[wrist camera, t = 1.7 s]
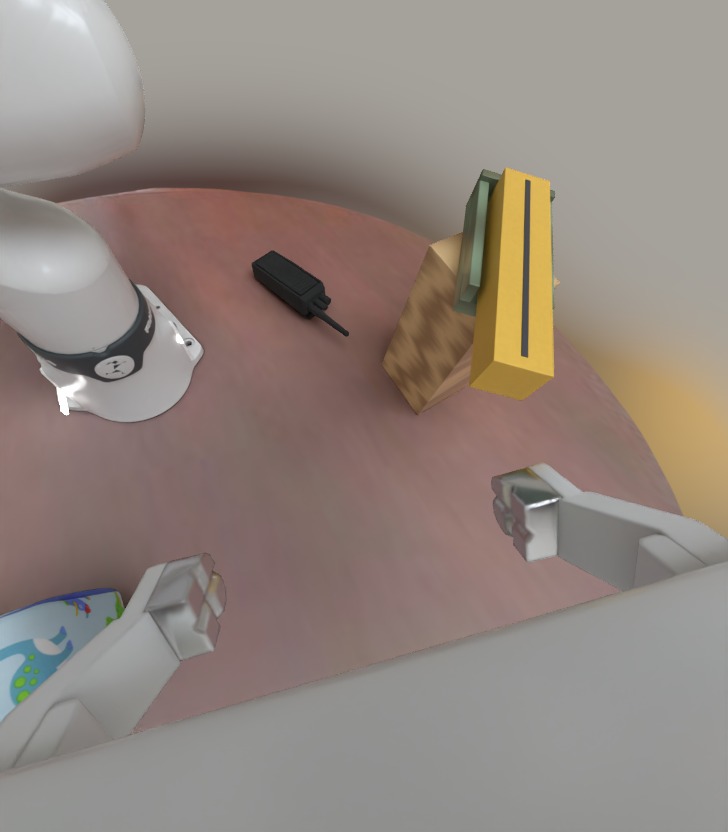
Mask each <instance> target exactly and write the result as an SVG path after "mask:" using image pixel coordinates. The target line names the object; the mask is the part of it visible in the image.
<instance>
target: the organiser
mask: <svg viewBox="0 0 728 832" xmlns="http://www.w3.org/2000/svg"><path fill="white" fill-rule="evenodd" d="M500 177H501V174H498V173H495V172H491V171H488V170H485V169H483V170H482V172H481V175H480V177H479V179H478V181H477V183H476V185H475V188H474V190H473V192H472V194H471V196H470V199H469V201H468V203H467V205H466V212H465V220H464V228H463V232H462V233H459V234H457V235H454V236H452V237H449V238H447V239H444V240H441V241H439V242H436V243H434V244H431V245H430V246H429V248H428V251H427V253H426V256H425V258H424V260H423V263H422V265H421V268H420V270H419V273H418V275H417V278H416V280H415V283H414V285H413V288H412V290H411V293H410V295H409V298H408V300H407V303H406V305H405V308H404V310H403V313H402V315H401V318H400V320H399V323H398V325H397V328H396V330H395V333H394V335H393V338H392V340H391V343H390V345H389V348H388V350H387V353H386V355H385V358H384V360H383V363H382V366H383V367H384V369H385V370H386V372H387V373H388V374H389V376H390V377H391V379H392V380H393V381H394V383H395V384H396V385H397V387H398V388H399V390H400V391H401V392H402V394H403V395H404V397H405V398H406V399H407V401H408V402H409V404H410V405H411V406H412V408H413V409H414V410H415V412H416V413H417V415H419V414H420V413H422V412H424V411H425V410H427V409H429V408H431V407H432V406H434V405H436V404H437V403H439V402H441V401H442V400H444V399H446V398H448V397H449V396H451V395H453V394H454V393H456V392H458V391H460V390H461V389H463V388H465V387H466V386H467V385H468V384H469V382H470V372H471V361H472V350H473V340H474V329H475V318H476V307H477V296H478V289H479V288H480V280H481V269H482V258H483V247H484V235H485V224H486V213H487V203H488V201H489V199H490V197H491V195H492V193H493V191H494V189H495V187H496V185H497V183H498V181H499V179H500ZM554 198H555V191H553V190H550V214H551V261H552V308H553V309H554V290H555V288H556V287H557V286H558V285H559V284H560V282H559V281H558V280H557V279H556V278H555V277H554V274H553V234H552V233H553V231H552V201H553V199H554Z"/></svg>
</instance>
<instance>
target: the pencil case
mask: <svg viewBox="0 0 728 832" xmlns="http://www.w3.org/2000/svg"><path fill="white" fill-rule="evenodd" d="M552 310H553V308H552V261H551V214H550V181H547V180H544V179H541V178H538V177H535V176H531V175H528V174H525V173H522V172H518V171H515V170H512V169H509V168H505V170H504V171H503V173H502V175H501V177H500V179H499V181H498V183H497V185H496V187H495V189H494V191H493V193H492V195H491V197H490V199H489V201H488V203H487V213H486V224H485V235H484V247H483V258H482V269H481V280H480V288H479V289H478V296H477V307H476V318H475V329H474V340H473V350H472V361H471V372H470V383H469V387H472V388H476V389H480V390H484V391H487V392H491V393H495V394H499V395H502V396H506V397H510V398H514V399H517V400H521V401H522V400H524V399H525V398H526V397H528V396H529V395H530V394H532V393H533V392H534V391H536V390H537V389H538V388H540V387H541V386H542V385H544V384H545V383H546V382H548V381H549V380H550V379H552V378H553V377H554V355H553V311H552Z"/></svg>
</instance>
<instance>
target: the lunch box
mask: <svg viewBox="0 0 728 832" xmlns="http://www.w3.org/2000/svg"><path fill="white" fill-rule="evenodd" d="M124 610H125V608H124V606H123V602H122V598H121V594H120V592H118V591H117V590H115V589H111V588H104V589H94V590H87V591H82V592H76V593H71V594H66V595H61V596H57V597H52V598H49V599H46V600H42V601H39V602H37V603H34V604H32V605H29V606H26V607H23V608H20V609H16V610H14V611H11V612H8V613H5V614H2V615H0V723H1V721H2V720H3V718H4V717H5V716H6V715H7V714H8V713H9V712H10V711H11V710H13V709H14V708H15V707H16V706H17V705H18V704H19V703H21V702H22V701H23V700H24V699H25V698H26V697H27V696H28V695H30V694H31V693H32V692H33V691H34V690H35V689H36V688H38V687H39V686H40V685H41V684H42V683H43V682H44V681H45V680H47V679H48V678H49V677H50V676H51V675H52V674H53V673H55V672H56V671H57V670H58V669H59V668H60V667H61V666H62V665H64V664H65V663H66V662H67V661H68V660H69V659H70V658H72V657H73V656H74V655H75V654H76V653H77V652H78V651H79V650H81V649H82V648H83V647H84V646H85V645H86V644H87V643H89V642H90V641H91V640H92V639H93V638H94V637H95V636H96V635H98V634H99V633H100V632H101V631H102V630H103V629H104V628H106V627H107V626H108V625H109V624H110V623H111V622H112V621H113V620H117V619H120V617H121V616H122V614H123V612H124Z"/></svg>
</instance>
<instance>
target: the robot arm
mask: <svg viewBox="0 0 728 832" xmlns="http://www.w3.org/2000/svg"><path fill="white" fill-rule="evenodd" d="M144 123H145V96H144V89H143V84H142V79H141V76H140V71H139V68H138V65H137V62H136V59H135V56H134V53H133V51H132V49H131V46H130V45H129V42H128V40H127V38H126V36H125V34H124V32H123V30H122V28H121V26H120V25H119V23H118V21H117V19H116V18H115V16H114V14H113V13H112V11H111V10H110V8H109V7H108V5H107V4H106V2H105V1H104V0H0V187H6V186H12V185H19V184H25V183H31V182H38V181H44V180H50V179H57V178H63V177H69V176H75V175H79V174H82V173H84V172H87V171H89V170H92V169H94V168H97V167H100V166H102V165H105V164H107V163H110V162H112V161H114V160H116V159H118V158H121V157H123V156H125V155H128V154H130V153H132V152H134V151H136V150H137V147H138V145H139V143H140V140H141V137H142V134H143V129H144ZM0 318H1V319H2V320H3V321H5V322H6V323H7V324H8V325H10V326H11V327H12V328H14V329H15V330H16V331H17V333H18V335H19V337H20V338H21V339H22V341H23V342H24V343H25V344H26V345H27V346H28V348H29V349H30V350H31V351H32V352H33V353H35V354H36V357H37V359H38V361H39V362H40V363H41V366H42V367H41V368H40V371H41V373H42V374H43V375H44V376H45V377H46V378H47V379H48V380H49V381H50V382H51V383H53V384H54V385H55V386H56V391H57V398H58V402H59V404H60V407H61V412H62V413H64V414H65V415H68V414H69V411H68V410H75V411H88V412H91V413H94V414H96V415H98V416H100V417H102V418H105V419H108V420H112V421H117V422H136V421H142V420H146V419H149V418H152V417H155V416H157V415H159V414H161V413H163V412H165V411H166V410H168V409H169V408H171V407H172V406H173V405H175V404H176V403H177V402H178V401H179V400H180V399H181V397H182V396H183V395H184V393H185V392H186V390H187V388H188V386H189V384H190V381H191V376H192V372H193V369H194V366H195V365H196V364H197V363H198V361H199V360H200V359H201V357H202V355H203V353H204V350H203V348H202V346H201V345H200V343H199V342H198V341H197V340H196V339H195V338H194V337H193V336H192V335H191V334H190V333H189V331H188V330H187V329H186V328H185V327H184V326H183V325H182V324H181V323H180V322H179V321H178V319H177V318H176V317H175V316H174V315H173V314H172V313H171V312H170V311H169V310H168V309H167V308H166V306H165V305H164V304H163V303H162V302H161V301H160V300H159V299H158V298H157V297H156V296H155V294H154V293H153V292H152V291H151V290H150V289H149V288H148V287H146V286H144V285H135V284H134V283H133V282H132V281H131V280H130V279H128V277H127V276H126V274H125V272H124V271H123V269H122V267H121V266H120V264H119V262H118V261H117V259H116V257H115V256H114V254H113V252H112V251H111V249H110V247H109V246H108V244H107V242H106V241H105V239H104V238H103V236H102V235H101V234H100V233H99V232H98V231H97V230H96V229H95V228H94V227H93V226H92V225H91V224H89V223H88V222H87V221H85V220H84V219H83V218H81V217H80V216H78V215H77V214H75V213H74V212H72V211H70V210H69V209H67V208H65V207H63V206H61V205H58V204H56V203H53V202H51V201H47V200H44V199H41V198H36V197H33V196H28V195H24V194H20V193H16V192H12V191H9V190H6V189H2V188H0ZM188 344H191V345H190V346H187V345H188ZM491 486H492V490H493V491H494V492H495V494H496V497H495V499H494V501H493V509H494V514H495V517H496V520H497V522H498V524H499V526H500V528H501V529H502V530H503V532H504V533H505V534H506V535H509V536H511V537H513V544H514V546H515V548H516V549H517V550H518V551H519V553H520V554H521V555H522V557H523V558H524V559H525V561H526V562H527V563H528V562H532V561H536V560H540V559H544V558H548V557H552V556H556V555H558V557H560V558H562V559H563V560H565V561H567V562H569V563H571V564H573V565H575V566H577V567H578V568H580V569H582V570H584V571H586V572H588V573H590V574H591V575H593V576H595V577H597V578H599V579H601V580H603V581H605V582H606V583H608V584H610V585H612V586H614V587H616V588H618V589H619V590H621V591H622V592H618V593H615V594H611V595H608V596H604V597H601V598H598V599H594V600H591V601H587V602H584V603H580V604H577V605H574V606H570V607H567V608H563V609H560V610H556V611H553V612H550V613H546V614H543V615H539V616H536V617H532V618H529V619H526V620H522V621H519V622H515V623H512V624H508V625H505V626H501V627H498V628H495V629H491V630H488V631H484V632H481V633H477V634H474V635H470V636H467V637H464V638H460V639H457V640H453V641H450V642H446V643H443V644H439V645H436V646H433V647H429V648H426V649H422V650H419V651H415V652H412V653H408V654H405V655H402V656H398V657H395V658H391V659H388V660H384V661H381V662H378V663H374V664H371V665H367V666H364V667H360V668H357V669H354V670H350V671H347V672H343V673H340V674H336V675H333V676H330V677H326V678H323V679H319V680H316V681H312V682H309V683H306V684H302V685H299V686H295V687H292V688H288V689H285V690H282V691H278V692H275V693H271V694H268V695H264V696H261V697H258V698H254V699H251V700H247V701H244V702H240V703H237V704H233V705H230V706H227V707H223V708H220V709H216V710H213V711H209V712H206V713H203V714H199V715H196V716H192V717H189V718H185V719H182V720H179V721H175V722H172V723H168V724H165V725H161V726H158V727H155V728H151V729H148V730H144V731H141V732H137V733H134V734H130V733H131V732H132V731H133V729H134V728H135V726H136V725H137V724H138V722H139V721H140V719H141V718H142V717H143V715H144V714H145V712H146V711H147V710H148V708H149V707H150V705H151V704H152V703H153V701H154V700H155V699H156V697H157V696H158V694H159V693H160V692H161V690H162V689H163V687H164V686H165V685H166V683H167V682H168V680H169V679H170V678H171V676H172V675H173V673H174V672H175V671H176V669H177V668H178V666H179V665H180V664H181V663H180V661H183V660H187V659H190V658H193V657H196V656H199V655H203V654H206V653H209V652H212V651H214V650H215V646H216V642H217V638H218V634H219V630H220V625H219V623H218V621H217V619H218V618H219V617H220V616H221V614H222V613H223V612H224V610H225V605H226V588H225V584H224V581H223V579H222V576H221V575H220V574H218V573H216V572H214V571H213V568H214V565H215V562H214V560H213V559H212V557H211V555H210V554H208V553H202V554H198V555H194V556H190V557H186V558H182V559H178V560H173V561H170V562H166V563H162V564H158V565H154V566H151V567H150V568H148V569H147V570H146V572H145V574H144V576H143V577H142V579H141V581H140V583H139V585H138V586H137V588H136V590H135V592H134V594H133V596H132V597H131V599H130V601H129V603H128V605H127V606H126V608H125V610H124V612H123V614H122V616H121V617H120V619H117V620H113V621H112V622H111V623H110V624H109V625H108V626H107V627H106V628H104V629H103V630H102V631H101V632H100V633H99V634H98V635H96V636H95V637H94V638H93V639H92V640H91V641H90V642H89V643H87V644H86V645H85V646H84V647H83V648H82V649H81V650H79V651H78V652H77V653H76V654H75V655H74V656H73V657H72V658H70V659H69V660H68V661H67V662H66V663H65V664H64V665H62V666H61V667H60V668H59V669H58V670H57V671H56V672H55V673H53V674H52V675H51V676H50V677H49V678H48V679H47V680H45V681H44V682H43V683H42V684H41V685H40V686H39V687H38V688H36V689H35V690H34V691H33V692H32V693H31V694H30V695H28V696H27V697H26V698H25V699H24V700H23V701H22V702H21V703H19V704H18V705H17V706H16V707H15V708H14V709H13V710H11V711H10V712H9V713H8V714H7V715H6V716H5V717H4V718H3V720H2V721H1V723H0V832H728V539H726V538H725V537H723V536H722V535H720V534H718V533H717V532H715V531H714V530H712V529H711V528H709V527H707V526H706V525H704V524H703V523H701V522H699V521H697V520H693V519H690V518H686V517H682V516H679V515H675V514H671V513H668V512H664V511H660V510H656V509H653V508H649V507H645V506H642V505H638V504H634V503H630V502H627V501H623V500H619V499H616V498H612V497H608V496H604V495H601V494H597V493H593V492H590V491H587V492H584V493H583V492H582V491H581V490H579V489H578V488H577V487H575V486H574V485H573V484H572V483H570V482H569V481H568V480H567V479H565V478H564V477H563V476H561V475H560V474H559V473H558V472H556V471H555V470H554V469H552V468H551V467H550V466H549V465H547V464H546V463H539V464H535V465H532V466H528V467H526V468H524V469H520V470H516V471H513V472H509V473H505V474H502V475H498V476H494V477H492V481H491Z"/></svg>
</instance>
